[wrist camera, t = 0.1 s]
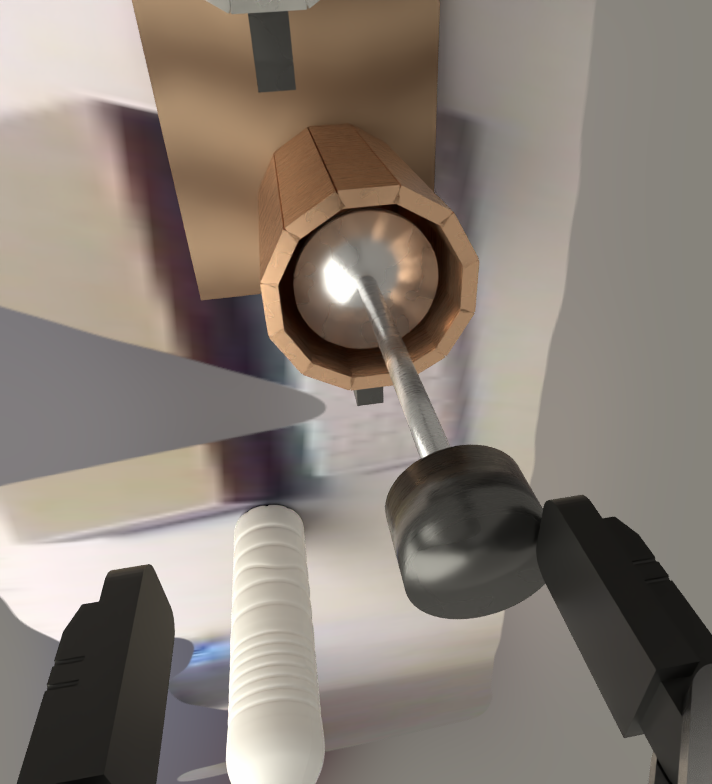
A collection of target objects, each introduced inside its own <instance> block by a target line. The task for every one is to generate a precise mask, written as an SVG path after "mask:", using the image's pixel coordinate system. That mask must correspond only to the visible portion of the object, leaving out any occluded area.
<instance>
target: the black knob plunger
mask: <svg viewBox="0 0 712 784" xmlns="http://www.w3.org/2000/svg"><path fill="white" fill-rule="evenodd" d="M437 285H438V265H437V260H436V257H435V253H434V251H433V249H432V247H431V245H430V243H429V241H428V240H427V238H426V237H425V236H424V234H423V233H422V232H421V231H420V229H419V228H418V227H417V226H416V225H415V224H414V223H412V222H411V221H410V220H408V219H407V218H405V217H404V216H402V215H400V214H398V213H395V212H393V211H390V210H386V209H382V208H372V207H370V208H357V209H352V210H348V211H345V212H342V213H340V214H337V215H335V216H333V217H331V218H330V219H328V220H326V221H325V222H324V223H322V224H321V225H320V226H319V227H317V228H316V229H315V230H314V231H313V232H312V233H311V235H310V236H309V237H308V238H307V240H306V241H305V243H304V244H303V246H302V248H301V250H300V251H299V254H298V257H297V259H296V263H295V267H294V274H293V287H294V294H295V299H296V303H297V306H298V309H299V311H300V313H301V315H302V317H303V319H304V320H305V322H306V323H307V324H308V326H309V327H310V328H311V329H312V330H313V331H314V332H315V333H317V334H318V335H319V336H320V337H322V338H324V339H325V340H327V341H329V342H331V343H334V344H336V345H339V346H343V347H348V348H356V349H365V348H374V347H380V350H381V353H382V355H383V358H384V361H385V364H386V366H387V369H388V372H389V374H390V377H391V380H392V382H393V385H394V388H395V391H396V393H397V396H398V399H399V401H400V404H401V407H402V409H403V412H404V415H405V418H406V420H407V423H408V426H409V428H410V431H411V434H412V437H413V439H414V442H415V445H416V447H417V450H418V453H419V455H420V458H421V459H419V460H418V461H416V462H415V463H413V464H412V465H411V466H409V467H408V468H407V469H406V470H405V471H404V472H403V473H402V474H401V475H400V476H399V477H398V478H397V480H396V481H395V482H394V484H393V485H392V487H391V489H390V491H389V493H388V496H387V499H386V505H385V512H386V518H387V522H388V526H389V530H390V533H391V537H392V541H393V545H394V549H395V553H396V556H397V560H398V564H399V568H400V572H401V576H402V580H403V583H404V587H405V591H406V594H407V596H408V598H409V600H410V601H411V602H412V603H413V604H414V606H416V607H417V608H418V609H420V610H421V611H423V612H425V613H427V614H430V615H433V616H436V617H440V618H447V619H469V618H477V617H482V616H487V615H490V614H494V613H497V612H500V611H502V610H505V609H507V608H510V607H512V606H514V605H516V604H518V603H520V602H522V601H523V600H525V599H526V598H528V597H529V596H531V595H532V594H534V593H535V592H536V591H537V590H539V589H540V588H541V587H542V586H543V585H544V584H545V581H544V579H543V577H542V575H541V572H540V569H539V566H538V562H537V556H536V545H537V540H538V535H539V529H540V524H541V519H542V513H543V508H542V506H541V505H540V503H539V501H538V500H537V498H536V496H535V494H534V493H533V491H532V489H531V487H530V486H529V484H528V482H527V480H526V479H525V477H524V475H523V473H522V472H521V470H520V468H519V467H518V465H517V464H516V462H515V461H514V460H513V459H512V458H511V457H510V456H509V455H507V454H506V453H504V452H502V451H500V450H498V449H495V448H492V447H488V446H482V445H459V446H454V447H450V445H449V442H448V440H447V438H446V436H445V433H444V431H443V429H442V427H441V424H440V422H439V420H438V418H437V416H436V413H435V411H434V409H433V407H432V404H431V402H430V400H429V398H428V395H427V393H426V391H425V389H424V386H423V384H422V382H421V380H420V378H419V375H418V373H417V371H416V369H415V366H414V364H413V362H412V360H411V357H410V355H409V353H408V351H407V348H406V346H405V344H404V342H403V340H402V337H403V336H404V335H406V334H407V333H408V332H410V331H411V330H412V329H413V328H414V327H415V326H416V325H417V324H418V323H419V322H420V321H421V320H422V319H423V317H424V316H425V315H426V313H427V312H428V310H429V308H430V306H431V304H432V302H433V300H434V297H435V294H436V290H437Z"/></svg>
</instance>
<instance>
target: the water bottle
mask: <svg viewBox="0 0 712 784" xmlns="http://www.w3.org/2000/svg"><path fill="white" fill-rule="evenodd" d="M306 562H307V556H306V548H305V534H304V525H303V522H302V520H301V518H300V516H299V515H298V514H297V513H296V512H295V511H293V510H292V509H287V508H286V507H284V506H280V505H269V506H259V507H256V508H253V509H251V510H249V511H248V513H245V514H243V515H242V516H241V517H240V518H239V520H238V521H237V523H236V527H235V531H234V559H233V565H234V571H233V592H232V606H233V607H232V614H231V626H232V630H231V639H230V655H231V659H230V682H229V690H230V691H229V707H228V712H229V716H228V736H227V747H226V748H227V749H226V764H227V771H228V775H229V778H230V781H231V783H232V784H315V783H316V781H317V779H318V777H319V774H320V772H321V769H322V766H323V760H324V753H325V744H324V733H323V726H322V719H321V707H320V696H319V686H318V675H317V664H316V654H315V643H314V629H313V623H312V608H311V602H310V587H309V581H308V568H307V563H306Z"/></svg>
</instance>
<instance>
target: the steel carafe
mask: <svg viewBox="0 0 712 784" xmlns="http://www.w3.org/2000/svg"><path fill="white" fill-rule="evenodd" d="M205 1H207V2H209V3H211V4H212V5H214V6H216V7H218V8H219V9H221V10H223V11H225V12H226V13H228V14H229V13H231V14H245V13H248V19H249V26H250V33H251V41H252V48H253V56H254V63H255V71H256V78H257V86H258V93H261V92H275V91H288V90H296V84H295V74H294V64H293V54H292V44H291V34H290V24H289V14H288V11H293V10H307V9H310V8H311V7H312V6H313V5H315V4H316V3H317V2H318V1H320V0H205Z"/></svg>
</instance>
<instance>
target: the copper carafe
mask: <svg viewBox="0 0 712 784" xmlns="http://www.w3.org/2000/svg"><path fill="white" fill-rule="evenodd" d="M308 128H309V129H308ZM308 128H307V127H306V128H305V129H304V130H302V131H301V132H300V133H298V134H297V135H296V136H295V137H293V138H292V139H291V140H289V141H288V142H287V143H285V144H284V145H283V146H281V147H280V148H279V149H277V150H276V151H275V152H274V153H273V155H272V158H271V160H270V163H269V165H268V168H267V170H266V173H265V175H264V178H263V180H262V183H261V185H260V188H259V190H258V208H259V253H260V286H261V293H262V299H263V305H264V311H265V317H266V324H267V330H268V336H269V338H270V339H271V340H272V341H273V342H274V343H275V344H276V346H277V347H278V348H279V349H280V350H281V351H282V352H283V353H284V355H285V356H286V357H287V358H288V359H289V360H290V361H291V362H292V364H293V365H294V366H295V367H296V368H297V369H298V370H299V371H300V372H301V374H302V373H303V375H305V376H308V377H311V378H314V379H317V380H320V381H323V382H326V383H329V384H332V385H335V386H338V387H341V388H344V389H347V390H350V388H351V391H352V390H354V394H355V398H356V402H357V406H361V405H369V404H376V403H383V386H391V385H393V382H392V380H391V377H390V374H389V372H388V369H387V366H386V364H385V361H384V358H383V355H382V353H381V350H380V347H374V348H365V349H356V348H348V347H343V346H339V345H336V344H334V343H331V342H329V341H327V340H325V339H324V338H322V337H320V336H319V335H318V334H317V333H315V332H314V331H313V330H312V329H311V328H310V327H309V326H308V324H307V323H306V322H305V320H304V319H303V317H302V315H301V313H300V311H299V309H298V306H297V303H296V299H295V294H294V287H293V274H294V267H295V263H296V259H297V257H298V254H299V251H300V250H301V248H302V246H303V244H304V243H305V241H306V240H307V238H308V237H309V236H310V235H311V233H312V232H313V231H314V230H315V229H316V228H317V227H319V226H320V225H321V224H322V223H324V222H325V221H326V220H328V219H330V218H331V217H333V216H335V215H337V214H340V213H342V212H345V211H348V210H352V209H357V208H370V207H372V208H382V209H386V210H390V211H393V212H395V213H398V214H400V215H402V216H404V217H405V218H407V219H408V220H410V221H411V222H412V223H414V224H415V225H416V226H417V227H418V228H419V229H420V231H421V232H422V233H423V234H424V236H425V237H426V238H427V240H428V241H429V243H430V245H431V247H432V249H433V251H434V253H435V257H436V260H437V265H438V285H437V290H436V294H435V297H434V300H433V302H432V304H431V306H430V308H429V310H428V312H427V313H426V315H425V316H424V317H423V319H422V320H421V321H420V322H419V323H418V324H417V325H416V326H415V327H414V328H413V329H412V330H411V331H410V332H408V333H407V334H406V335H404V336H403V337H402V340H403V342H404V344H405V346H406V348H407V351H408V353H409V355H410V357H411V360H412V362H413V364H414V366H415V369H416V371H417V373H418V374H419V373H420V372H422V371H424V370H425V369H427V368H429V367H430V366H432V365H433V364H435V363H437V362H438V361H440V360H442V359H443V358H445V356H444V355H446V356H447V355H448V353H449V352H450V350H451V348H452V347H453V345H454V344H455V342H456V341H457V339H458V338H459V336H460V335H461V333H462V332H463V330H464V329H465V327H466V326H467V324H468V323H469V321H470V320H471V318H472V316H473V315H474V312H475V307H476V295H477V283H478V271H479V260H478V259H479V258H478V256H477V255H476V253H475V251H474V249H473V247H472V245H471V243H470V242H469V240H468V238H467V236H466V234H465V232H464V230H463V229H462V227H461V225H460V223H459V221H458V219H457V217H456V215H455V214H454V212H453V211H452V210H451V209H450V208H449V207H448V206H447V205H446V204H445V203H444V202H443V201H442V200H441V199H440V198H439V197H438V196H437V195H436V194H435V193H434V192H433V191H432V190H431V189H430V188H429V187H428V186H427V185H426V184H425V183H424V182H423V180H422V179H421V178H420V177H419V176H418V175H417V174H416V173H415V172H414V171H413V170H412V169H411V168H410V167H409V166H408V165H407V164H406V163H405V162H404V161H403V160H402V159H401V158H400V157H399V156H398V155H397V154H396V153H395V152H394V151H393V150H392V149H391V148H390V147H389V146H388V145H387V144H386V143H385V142H384V141H382V140H380V139H378V138H376V137H374V136H372V135H371V134H369V133H367V132H365V131H363V130H361V129H360V128H358V127H356V126H354V125H352V124H349V123H345V124H333V125H321V126H309V127H308Z"/></svg>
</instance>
